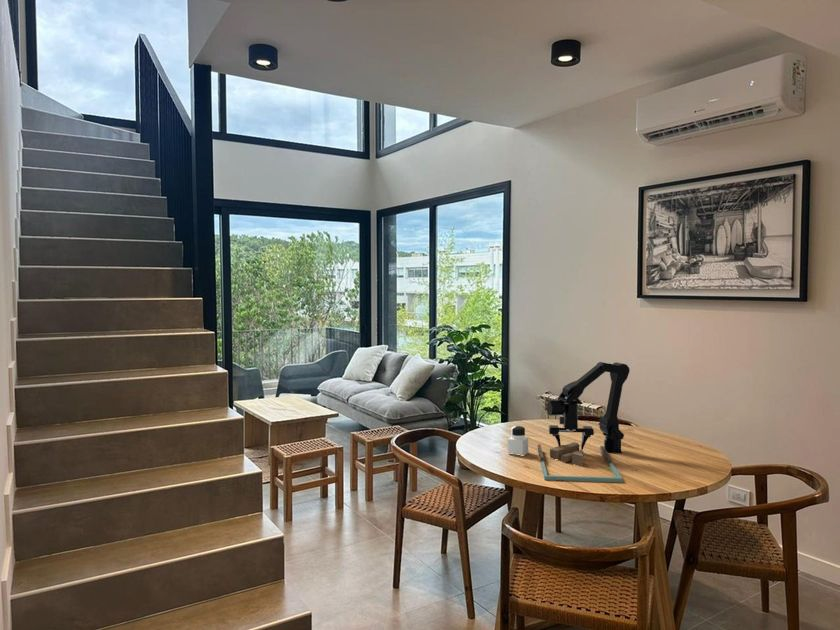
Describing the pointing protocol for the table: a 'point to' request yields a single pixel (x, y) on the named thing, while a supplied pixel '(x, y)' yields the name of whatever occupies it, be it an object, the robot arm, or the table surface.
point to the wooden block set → (568, 454)
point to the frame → (584, 478)
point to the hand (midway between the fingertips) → (570, 449)
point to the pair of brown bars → (602, 450)
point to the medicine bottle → (518, 441)
